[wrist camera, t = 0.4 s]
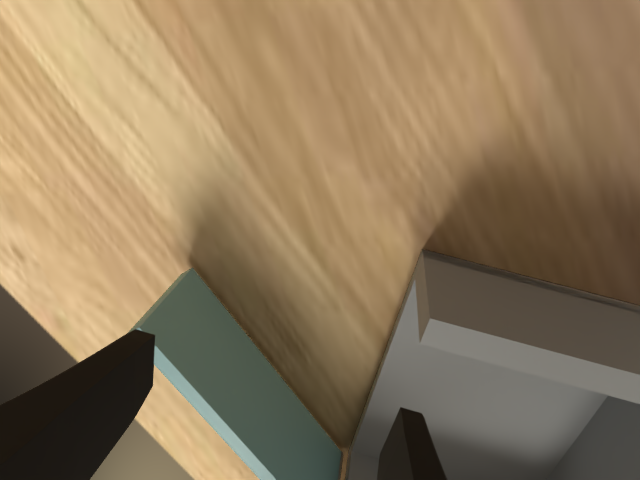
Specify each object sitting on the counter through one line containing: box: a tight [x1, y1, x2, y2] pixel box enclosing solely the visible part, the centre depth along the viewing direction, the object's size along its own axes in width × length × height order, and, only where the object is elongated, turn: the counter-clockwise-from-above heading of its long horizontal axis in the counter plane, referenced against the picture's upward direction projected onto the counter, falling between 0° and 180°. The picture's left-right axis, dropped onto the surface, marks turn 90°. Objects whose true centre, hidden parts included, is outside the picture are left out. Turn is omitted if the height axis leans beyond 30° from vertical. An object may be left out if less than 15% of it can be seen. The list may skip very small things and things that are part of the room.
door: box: [128, 268, 343, 480], centre depth 22 cm, size 15×2×5 cm, turn 33°
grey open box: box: [345, 249, 640, 480], centre depth 20 cm, size 15×12×6 cm
